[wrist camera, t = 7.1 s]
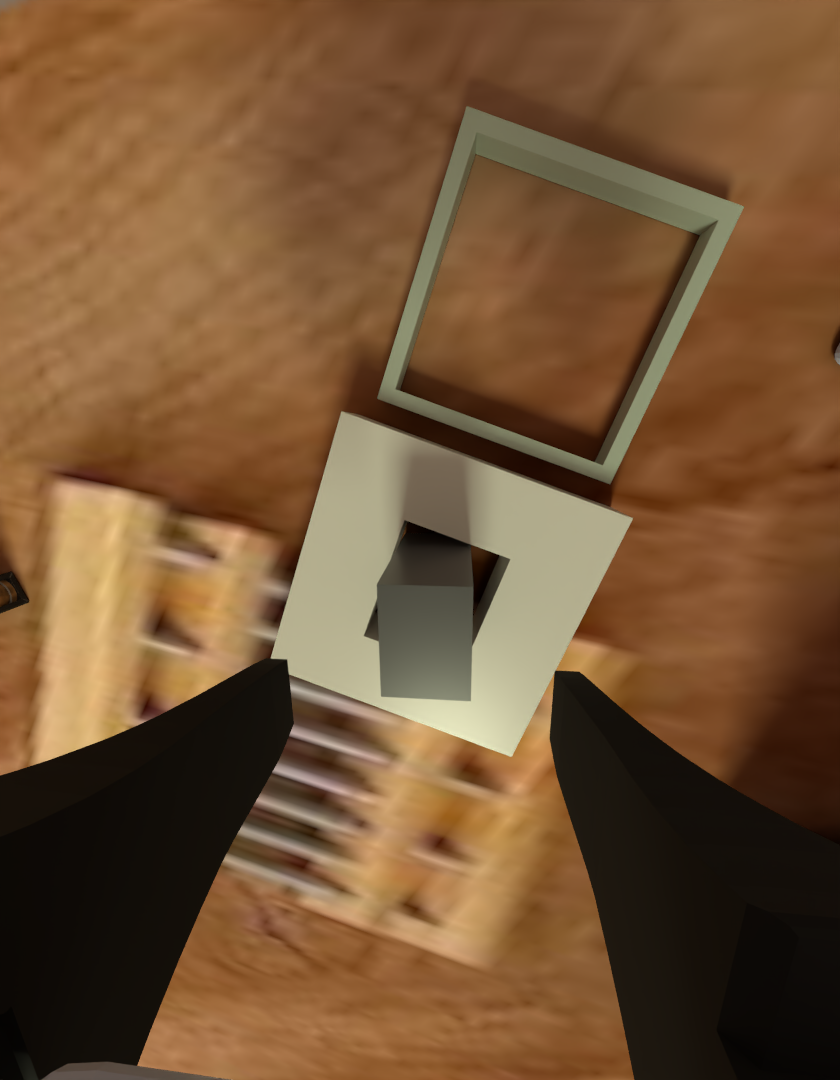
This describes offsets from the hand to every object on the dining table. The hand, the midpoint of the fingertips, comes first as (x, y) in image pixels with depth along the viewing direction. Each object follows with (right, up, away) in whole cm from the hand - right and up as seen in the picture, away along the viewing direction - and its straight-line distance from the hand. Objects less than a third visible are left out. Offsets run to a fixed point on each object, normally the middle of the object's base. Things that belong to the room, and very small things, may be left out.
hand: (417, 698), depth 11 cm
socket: (+1, +2, +9) cm, 9 cm away
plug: (+1, +3, +9) cm, 9 cm away
